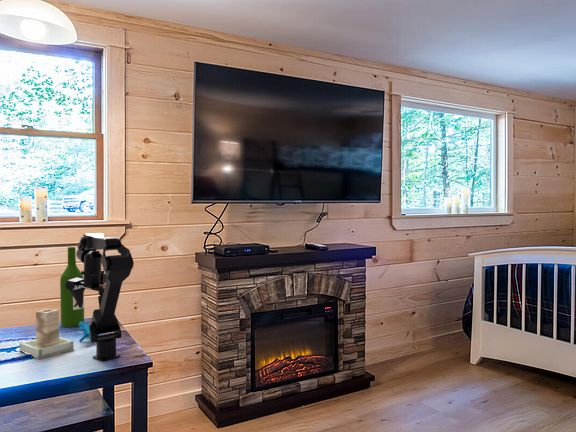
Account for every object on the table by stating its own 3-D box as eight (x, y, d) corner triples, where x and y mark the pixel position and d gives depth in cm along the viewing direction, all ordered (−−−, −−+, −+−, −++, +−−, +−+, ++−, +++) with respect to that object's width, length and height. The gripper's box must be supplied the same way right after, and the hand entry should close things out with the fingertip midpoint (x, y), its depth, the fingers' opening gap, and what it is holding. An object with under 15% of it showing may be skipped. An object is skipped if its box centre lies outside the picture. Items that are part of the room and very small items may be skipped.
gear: (96, 341, 170) (77, 321, 170) (84, 353, 169) (64, 333, 169) (106, 336, 181) (88, 318, 181) (95, 347, 180) (77, 329, 180)
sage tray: (73, 349, 165) (73, 341, 165) (38, 359, 155) (38, 350, 155) (53, 343, 173) (53, 334, 173) (19, 351, 163) (19, 343, 163)
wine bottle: (73, 328, 192) (72, 248, 191) (56, 326, 195) (54, 248, 194) (89, 322, 201) (87, 246, 200) (72, 320, 204) (70, 245, 202)
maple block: (59, 346, 166) (58, 309, 165) (47, 350, 161) (46, 312, 160) (48, 344, 167) (47, 308, 167) (36, 349, 163) (35, 311, 162)
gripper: (129, 267, 171) (127, 308, 174) (87, 259, 177) (86, 299, 179) (108, 274, 161) (107, 318, 163) (64, 265, 167) (64, 307, 169)
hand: (91, 310), depth 169 cm, fingers open, 9 cm apart
